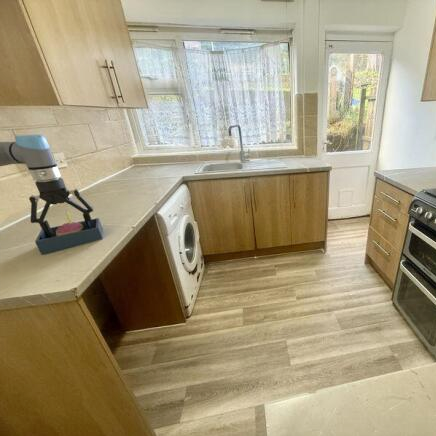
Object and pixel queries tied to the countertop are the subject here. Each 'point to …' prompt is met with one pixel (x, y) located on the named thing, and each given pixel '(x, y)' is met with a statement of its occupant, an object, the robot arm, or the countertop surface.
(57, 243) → the bin
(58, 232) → the cupcake
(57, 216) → the countertop surface
